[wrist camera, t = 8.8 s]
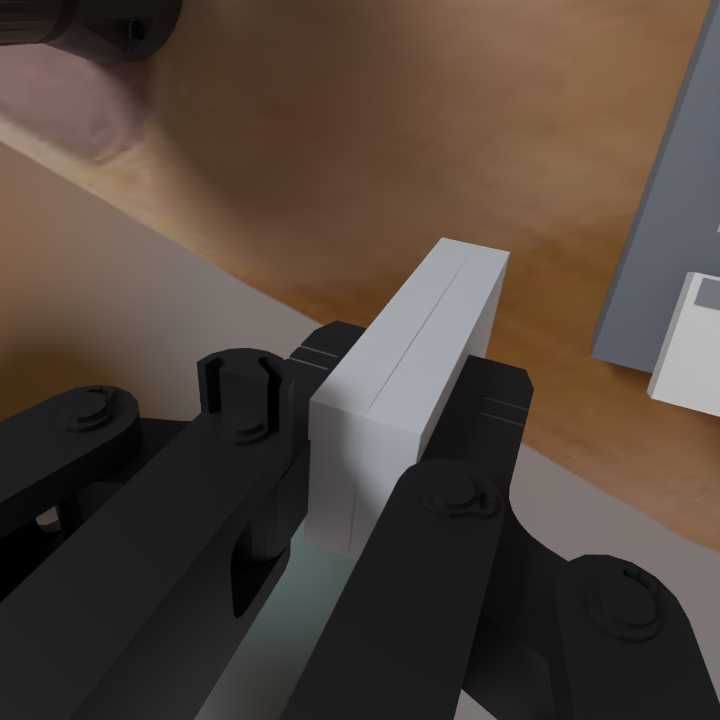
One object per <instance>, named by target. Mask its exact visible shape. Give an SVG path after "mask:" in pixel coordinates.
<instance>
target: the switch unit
mask: <svg viewBox="0 0 720 720" xmlns="http://www.w3.org/2000/svg"><path fill="white" fill-rule="evenodd" d="M719 225H720V0H712V1H711V4H710V6H709V9H708V12H707V15H706V18H705V21H704V23H703V26H702V29H701V32H700V35H699V37H698V40H697V43H696V46H695V49H694V52H693V54H692V57H691V60H690V63H689V66H688V68H687V71H686V74H685V77H684V80H683V83H682V85H681V88H680V91H679V94H678V97H677V100H676V102H675V105H674V108H673V111H672V114H671V116H670V119H669V122H668V125H667V128H666V131H665V133H664V136H663V139H662V142H661V145H660V147H659V150H658V153H657V156H656V159H655V162H654V164H653V167H652V170H651V173H650V176H649V178H648V181H647V184H646V187H645V190H644V193H643V195H642V198H641V201H640V204H639V207H638V209H637V212H636V215H635V218H634V221H633V224H632V226H631V229H630V232H629V235H628V238H627V240H626V243H625V246H624V249H623V252H622V255H621V257H620V260H619V263H618V266H617V269H616V271H615V274H614V277H613V280H612V283H611V286H610V288H609V291H608V294H607V297H606V300H605V302H604V305H603V308H602V311H601V314H600V317H599V319H598V322H597V325H596V328H595V331H594V333H593V343H592V352H591V358H594V359H598V360H602V361H606V362H610V363H614V364H618V365H621V366H625V367H629V368H633V369H637V370H641V371H645V372H649V373H653V372H654V369H655V366H656V363H657V360H658V357H659V354H660V351H661V348H662V345H663V342H664V339H665V337H666V334H667V331H668V328H669V325H670V322H671V319H672V316H673V313H674V310H675V307H676V304H677V302H678V299H679V296H680V293H681V290H682V287H683V284H684V281H685V278H686V275H687V272H696V273H701V274H706V275H710V276H715V277H720V233H719V232H717V230H718V227H719Z"/></svg>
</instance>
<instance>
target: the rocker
mask: <svg viewBox="0 0 720 720" xmlns="http://www.w3.org/2000/svg"><path fill="white" fill-rule="evenodd" d="M647 393H648V395H649V396H650V397H651V398H652V399H656V400H659V401H663V402H667V403H671V404H674V405H678V406H682V407H685V408H689V409H693V410H697V411H700V412H704V413H708V414H711V415H715V416H719V417H720V277H715V276H710V275H706V274H701V273H696V272H687V275H686V278H685V281H684V284H683V287H682V290H681V293H680V296H679V299H678V302H677V304H676V307H675V310H674V313H673V316H672V319H671V322H670V325H669V328H668V331H667V334H666V337H665V339H664V342H663V345H662V348H661V351H660V354H659V357H658V360H657V363H656V366H655V369H654V372H653V374H652V377H651V380H650V383H649V386H648V389H647Z"/></svg>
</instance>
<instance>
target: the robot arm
mask: <svg viewBox="0 0 720 720" xmlns="http://www.w3.org/2000/svg"><path fill="white" fill-rule="evenodd" d="M181 2H182V0H0V46H9V45H24V44H39V43H43V44H46V45H49V46H51V47H54V48H57V49H60V50H63V51H65V52H68V53H71V54H74V55H77V56H79V57H82V58H85V59H88V60H91V61H94V62H99V63H108V64H114V63H124V62H133V61H138V60H141V59H144V58H146V57H148V56H150V55H151V54H153V53H154V52H155V51H157V50H158V49H159V48H160V47H161V46H162V45H163V43H164V42H165V41H166V40H167V38H168V37H169V35H170V33H171V32H172V30H173V28H174V25H175V23H176V20H177V18H178V14H179V11H180V7H181ZM509 255H510V252H506V251H502V250H497V249H493V248H488V247H483V246H479V245H474V244H470V243H465V242H460V241H456V240H451V239H447V238H441V239H440V241H439V242H438V243H437V244H436V245H435V247H434V248H433V249H432V250H431V252H430V253H429V254H428V255H427V256H426V258H425V259H424V260H423V261H422V263H421V264H420V265H419V266H418V267H417V269H416V270H415V271H414V272H413V274H412V275H411V276H410V277H409V278H408V280H407V281H406V282H405V283H404V285H403V286H402V287H401V288H400V289H399V291H398V292H397V293H396V294H395V296H394V297H393V298H392V299H391V300H390V302H389V303H388V304H387V305H386V307H385V308H384V309H383V310H382V311H381V313H380V314H379V315H378V316H377V318H376V319H375V320H374V321H373V322H372V324H371V325H370V326H369V327H368V329H366V328H363V327H359V326H355V325H352V324H348V323H344V322H341V321H335V322H332V323H330V324H328V325H325V326H323V327H321V328H319V329H316V330H315V331H313V333H312V334H311V335H310V336H309V337H308V338H307V339H306V340H305V341H304V342H303V343H302V344H301V347H298V348H297V349H296V350H295V351H294V352H293V353H292V354H291V355H290V358H289V359H286V360H284V359H283V358H281V357H279V356H277V355H275V354H273V353H270V352H268V351H263V350H258V349H251V348H239V349H227V350H224V351H220V352H216V353H212V354H210V355H208V356H207V357H205V358H203V359H201V360H200V361H198V362H197V369H198V380H199V390H200V401H201V413H200V414H199V415H198V416H197V417H196V418H195V419H194V420H193V421H175V420H162V419H151V418H140V413H139V407H138V401H137V400H136V399H135V398H134V397H133V396H132V395H131V393H130V392H127V391H125V390H123V389H120V388H117V387H114V386H102V385H94V386H86V387H80V388H75V389H72V390H69V391H66V392H63V393H61V394H58V395H56V396H54V397H51V398H49V399H47V400H45V401H43V402H41V403H39V404H37V405H35V406H32V407H30V408H28V409H26V410H24V411H22V412H20V413H18V414H16V415H14V416H11V417H9V418H7V419H5V420H3V421H1V422H0V720H194V719H195V717H196V715H197V714H198V712H199V710H200V709H201V707H202V705H203V704H204V702H205V700H206V699H207V697H208V696H209V694H210V692H211V691H212V689H213V687H214V686H215V684H216V683H217V681H218V679H219V678H220V676H221V674H222V673H223V671H224V669H225V668H226V666H227V664H228V663H229V661H230V660H231V658H232V656H233V655H234V653H235V651H236V650H237V648H238V646H239V645H240V643H241V641H242V640H243V638H244V637H245V635H246V633H247V632H248V630H249V628H250V627H251V625H252V623H253V622H254V620H255V619H256V617H257V615H258V614H259V612H260V610H261V608H262V607H263V605H264V604H265V602H266V600H267V599H268V597H269V596H270V594H271V592H272V591H273V589H274V587H275V586H276V584H277V582H278V581H279V579H280V577H281V576H282V574H283V573H284V571H285V569H286V566H287V564H288V561H289V558H290V544H291V538H292V536H293V535H294V533H295V532H296V530H297V529H298V527H299V525H300V524H301V522H302V521H303V519H304V518H305V525H304V540H305V541H308V542H311V543H313V544H315V545H318V546H321V547H323V548H326V549H328V550H331V551H333V552H336V553H338V554H341V555H344V556H346V557H349V558H351V559H354V560H356V561H357V563H356V565H355V567H354V569H353V571H352V573H351V575H350V577H349V579H348V581H347V584H346V585H345V588H344V590H343V592H342V594H341V596H340V598H339V600H338V602H337V604H336V606H335V608H334V610H333V612H332V614H331V616H330V618H329V620H328V622H327V624H326V626H325V628H324V630H323V632H322V634H321V636H320V638H319V640H318V642H317V644H316V646H315V648H314V650H313V652H312V654H311V656H310V658H309V660H308V662H307V664H306V666H305V668H304V670H303V672H302V675H301V676H300V678H299V680H298V682H297V685H296V686H295V689H294V690H293V692H292V694H291V696H290V699H289V701H288V703H287V705H286V707H285V709H284V711H283V713H282V715H281V717H280V719H279V720H454V716H455V712H456V708H457V704H458V700H459V696H460V692H461V689H463V690H464V691H465V692H466V693H467V694H468V695H469V696H471V697H472V698H473V699H474V700H475V701H476V702H478V703H479V704H480V705H481V706H482V707H483V708H484V709H486V710H487V711H488V712H489V713H490V714H491V715H493V716H494V717H495V718H496V719H497V720H720V703H719V700H718V698H717V695H716V692H715V689H714V687H713V684H712V682H711V679H710V676H709V673H708V670H707V668H706V665H705V662H704V659H703V657H702V654H701V651H700V648H699V646H698V643H697V640H696V638H695V635H694V632H693V629H692V627H691V624H690V621H689V619H688V617H687V616H686V614H685V612H684V610H683V609H682V607H681V605H680V603H679V601H678V600H677V598H676V597H675V596H674V595H673V594H672V593H671V592H670V591H669V590H668V589H667V588H666V587H665V586H664V585H663V584H662V583H661V582H660V581H659V580H658V579H657V578H656V577H655V576H653V575H652V574H650V573H648V572H647V571H645V570H644V569H642V568H640V567H639V566H637V565H635V564H634V563H632V562H629V561H626V560H623V559H619V558H616V557H613V556H610V555H583V556H580V557H578V558H576V559H573V560H571V561H569V562H568V561H567V560H565V559H564V558H562V557H560V556H559V555H557V554H556V553H554V552H553V551H551V550H549V549H548V548H546V547H545V546H544V545H542V544H541V543H540V542H539V541H537V540H536V539H534V538H533V537H532V536H531V535H530V534H529V533H528V532H527V531H526V530H525V529H524V527H523V526H522V525H521V524H520V523H519V521H518V520H517V518H516V516H515V514H514V513H513V511H512V508H511V504H510V500H509V488H510V483H511V479H512V475H513V471H514V467H515V463H516V459H517V455H518V451H519V447H520V443H521V439H522V435H523V431H524V427H525V423H526V419H527V415H528V411H529V407H530V403H531V399H532V395H533V391H534V388H533V386H532V383H531V381H530V378H529V376H528V374H527V371H526V370H525V369H521V368H518V367H514V366H510V365H507V364H503V363H499V362H495V361H492V360H488V359H485V355H486V351H487V347H488V343H489V338H490V334H491V330H492V326H493V322H494V318H495V313H496V309H497V305H498V301H499V297H500V292H501V288H502V284H503V280H504V276H505V272H506V267H507V263H508V259H509ZM54 506H55V508H56V511H57V515H58V518H59V520H57V521H55V522H53V523H50V524H48V525H38V524H37V521H36V517H38V516H39V515H41V514H43V513H44V512H46V511H47V510H49V509H51V508H52V507H54Z"/></svg>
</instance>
